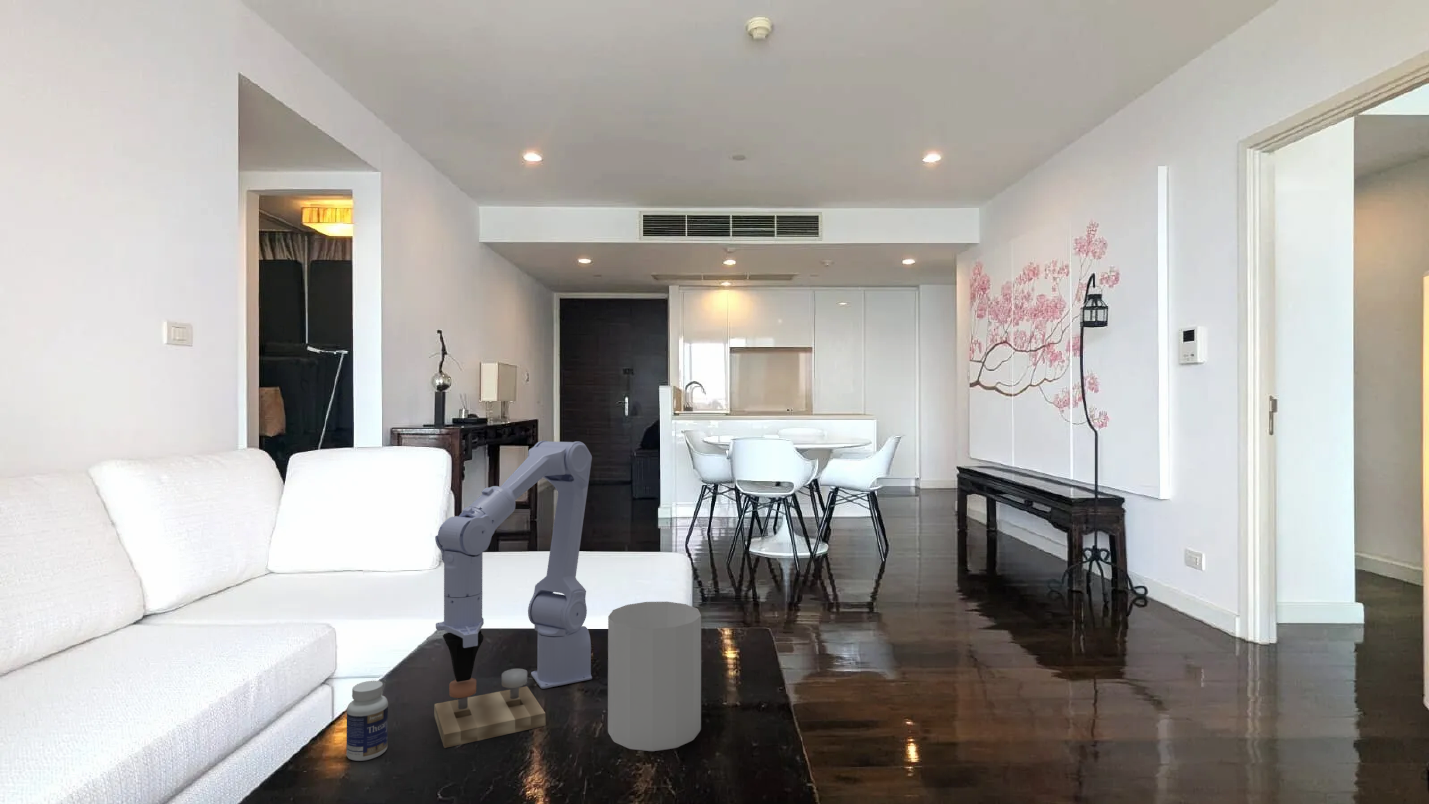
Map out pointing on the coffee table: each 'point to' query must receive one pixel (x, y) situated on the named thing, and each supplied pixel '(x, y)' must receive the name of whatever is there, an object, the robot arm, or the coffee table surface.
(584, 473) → the robot arm
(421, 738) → the coffee table surface
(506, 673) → the grey plunger
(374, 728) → the pill bottle
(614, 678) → the container
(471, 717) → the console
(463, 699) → the rust plunger
